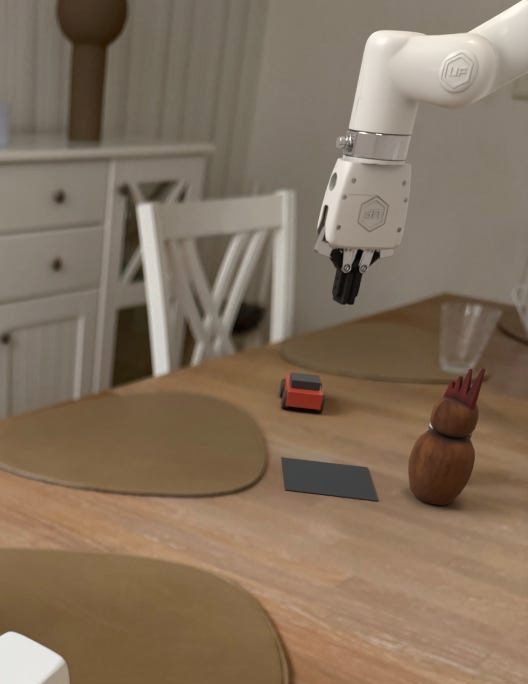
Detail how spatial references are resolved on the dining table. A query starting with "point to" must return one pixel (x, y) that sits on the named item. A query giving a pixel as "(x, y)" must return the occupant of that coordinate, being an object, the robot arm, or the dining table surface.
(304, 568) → the dining table surface
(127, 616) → the dining table surface
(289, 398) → the toy car
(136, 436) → the dining table surface
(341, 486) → the mat
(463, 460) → the wooden figurine
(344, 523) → the dining table surface
